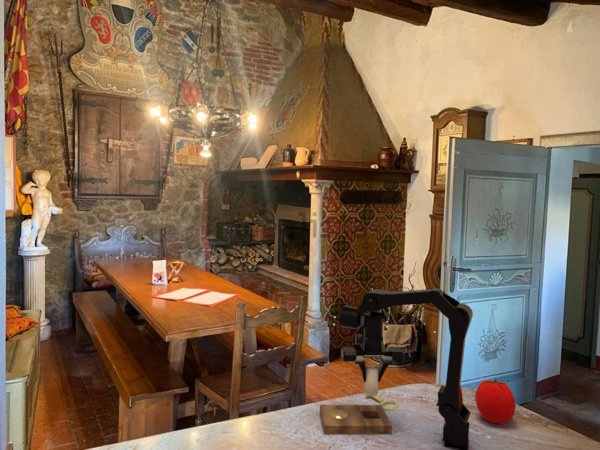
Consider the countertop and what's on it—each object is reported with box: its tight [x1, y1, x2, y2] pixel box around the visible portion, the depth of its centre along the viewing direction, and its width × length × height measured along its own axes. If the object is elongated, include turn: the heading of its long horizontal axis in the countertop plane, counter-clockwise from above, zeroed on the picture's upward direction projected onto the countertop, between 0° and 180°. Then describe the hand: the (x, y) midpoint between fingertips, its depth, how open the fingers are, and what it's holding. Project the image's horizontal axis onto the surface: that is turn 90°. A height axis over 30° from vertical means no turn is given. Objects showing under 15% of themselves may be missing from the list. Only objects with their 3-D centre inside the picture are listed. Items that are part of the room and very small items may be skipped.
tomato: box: [474, 377, 517, 425], centre depth 149 cm, size 12×12×13 cm
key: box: [364, 393, 399, 412], centre depth 160 cm, size 7×12×2 cm, turn 53°
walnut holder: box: [319, 404, 393, 435], centre depth 146 cm, size 20×14×2 cm
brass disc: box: [329, 410, 348, 419], centre depth 145 cm, size 6×6×1 cm
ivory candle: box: [364, 364, 379, 397], centre depth 145 cm, size 4×4×8 cm
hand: (371, 381), depth 145 cm, fingers closed on ivory candle, 4 cm apart
